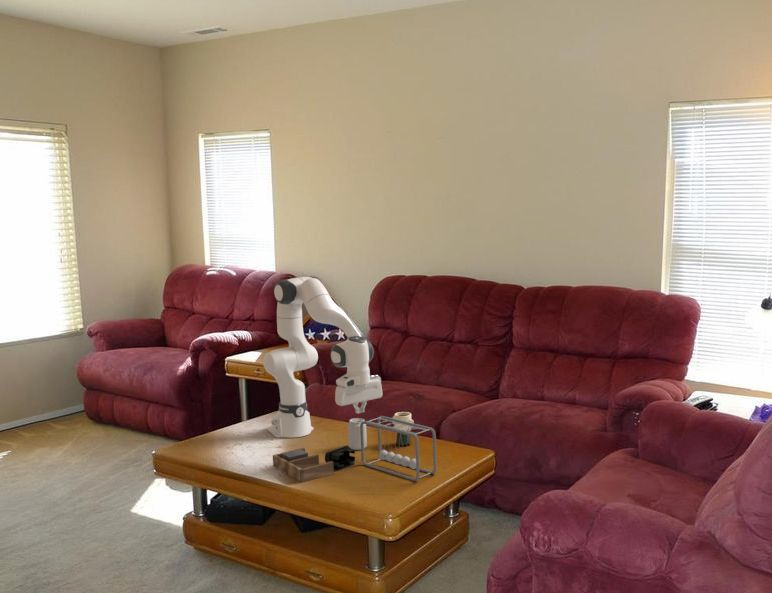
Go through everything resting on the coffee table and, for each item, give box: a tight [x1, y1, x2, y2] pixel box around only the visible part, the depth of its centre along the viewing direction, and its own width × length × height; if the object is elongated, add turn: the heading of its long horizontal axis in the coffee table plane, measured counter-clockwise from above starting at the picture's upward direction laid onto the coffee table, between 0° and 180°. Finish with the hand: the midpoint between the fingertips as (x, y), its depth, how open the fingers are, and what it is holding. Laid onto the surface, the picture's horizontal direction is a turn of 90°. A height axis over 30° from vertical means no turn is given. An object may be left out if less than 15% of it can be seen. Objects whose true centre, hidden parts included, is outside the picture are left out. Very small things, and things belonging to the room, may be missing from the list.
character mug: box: [392, 411, 415, 446], centre depth 312 cm, size 11×7×13 cm, turn 51°
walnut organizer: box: [272, 447, 335, 483], centre depth 286 cm, size 23×14×4 cm, turn 36°
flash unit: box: [281, 448, 309, 461], centre depth 291 cm, size 6×8×6 cm
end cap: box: [324, 445, 356, 472], centre depth 290 cm, size 10×7×7 cm
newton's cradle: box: [360, 415, 438, 482], centre depth 282 cm, size 30×10×18 cm, turn 45°
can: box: [347, 417, 368, 451], centre depth 310 cm, size 8×8×12 cm
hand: (360, 412), depth 294 cm, fingers closed
